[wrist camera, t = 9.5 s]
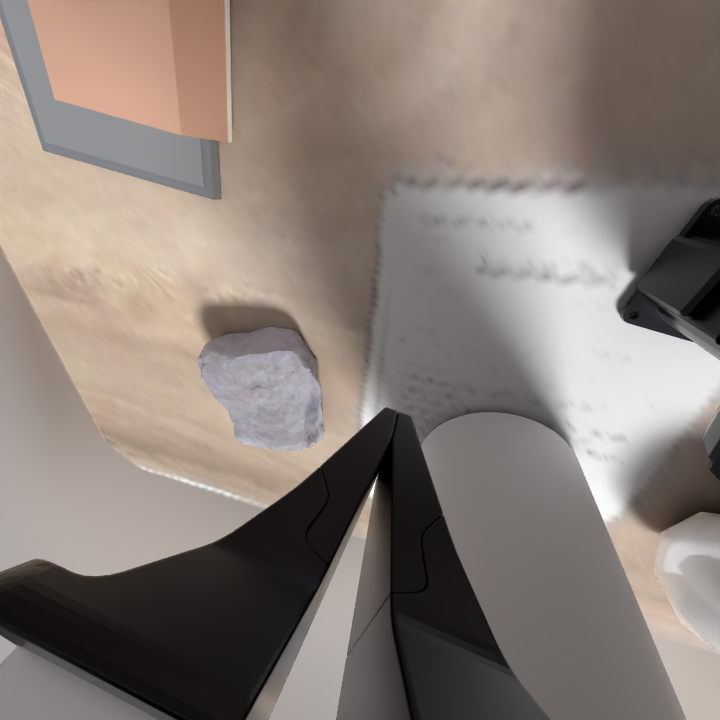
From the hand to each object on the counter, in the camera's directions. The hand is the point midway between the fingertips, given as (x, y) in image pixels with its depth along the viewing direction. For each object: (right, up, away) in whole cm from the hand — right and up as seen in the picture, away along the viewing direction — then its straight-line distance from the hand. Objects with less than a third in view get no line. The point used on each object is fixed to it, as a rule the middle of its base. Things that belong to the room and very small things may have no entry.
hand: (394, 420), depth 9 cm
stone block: (-8, 0, +19) cm, 21 cm away
